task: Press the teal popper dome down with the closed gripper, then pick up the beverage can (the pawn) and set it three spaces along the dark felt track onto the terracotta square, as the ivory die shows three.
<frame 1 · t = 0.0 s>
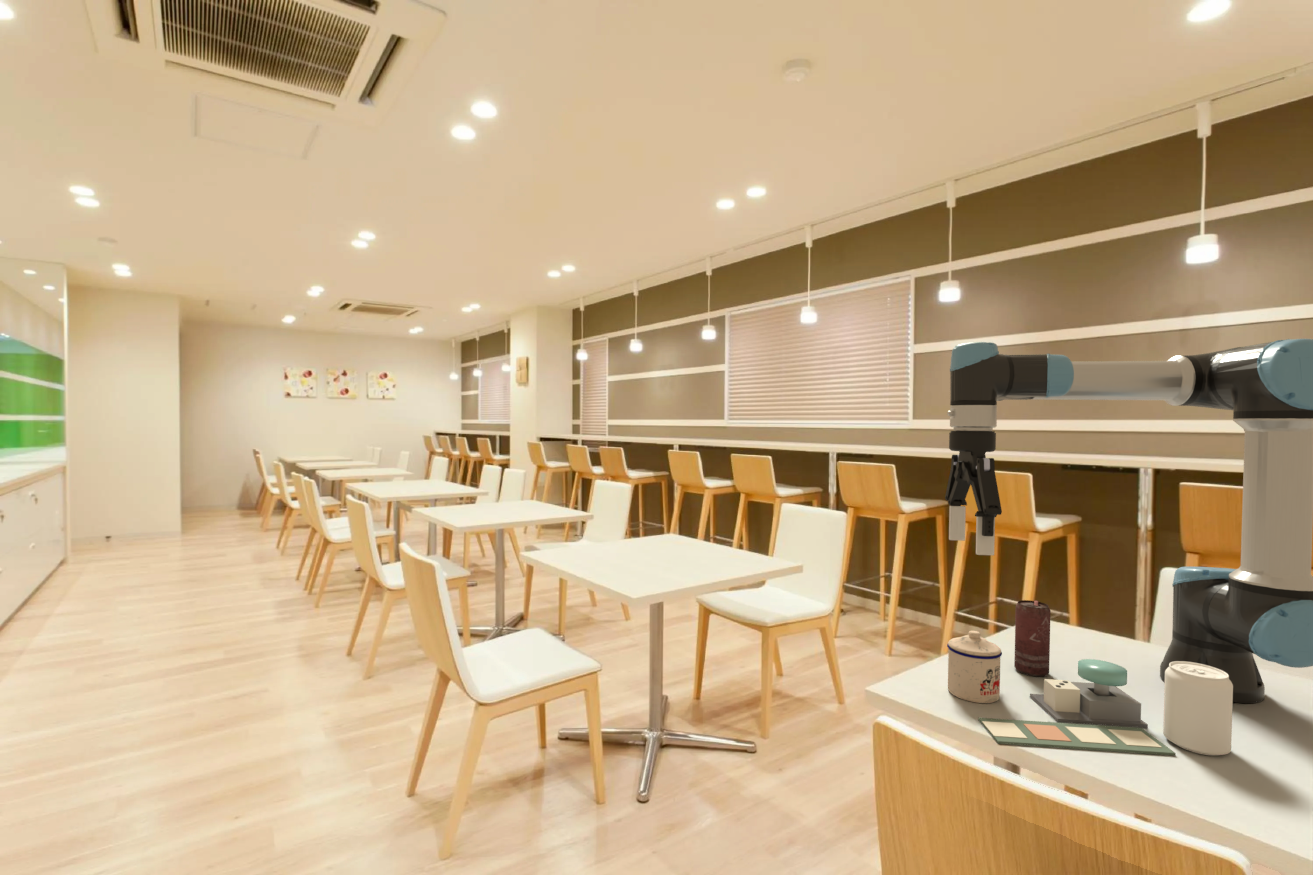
hand: (970, 547, 114), 28 cm above the table, fingers open, 13 cm apart
track: (1071, 736, 101), on the table
can: (1031, 672, 128), on the table
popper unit: (1085, 711, 110), on the table
teacup with lid: (976, 692, 118), on the table
beverage can: (1196, 746, 99), on the table
dome cap: (1101, 680, 110), point 6 cm above the table, slide at 0.0 cm
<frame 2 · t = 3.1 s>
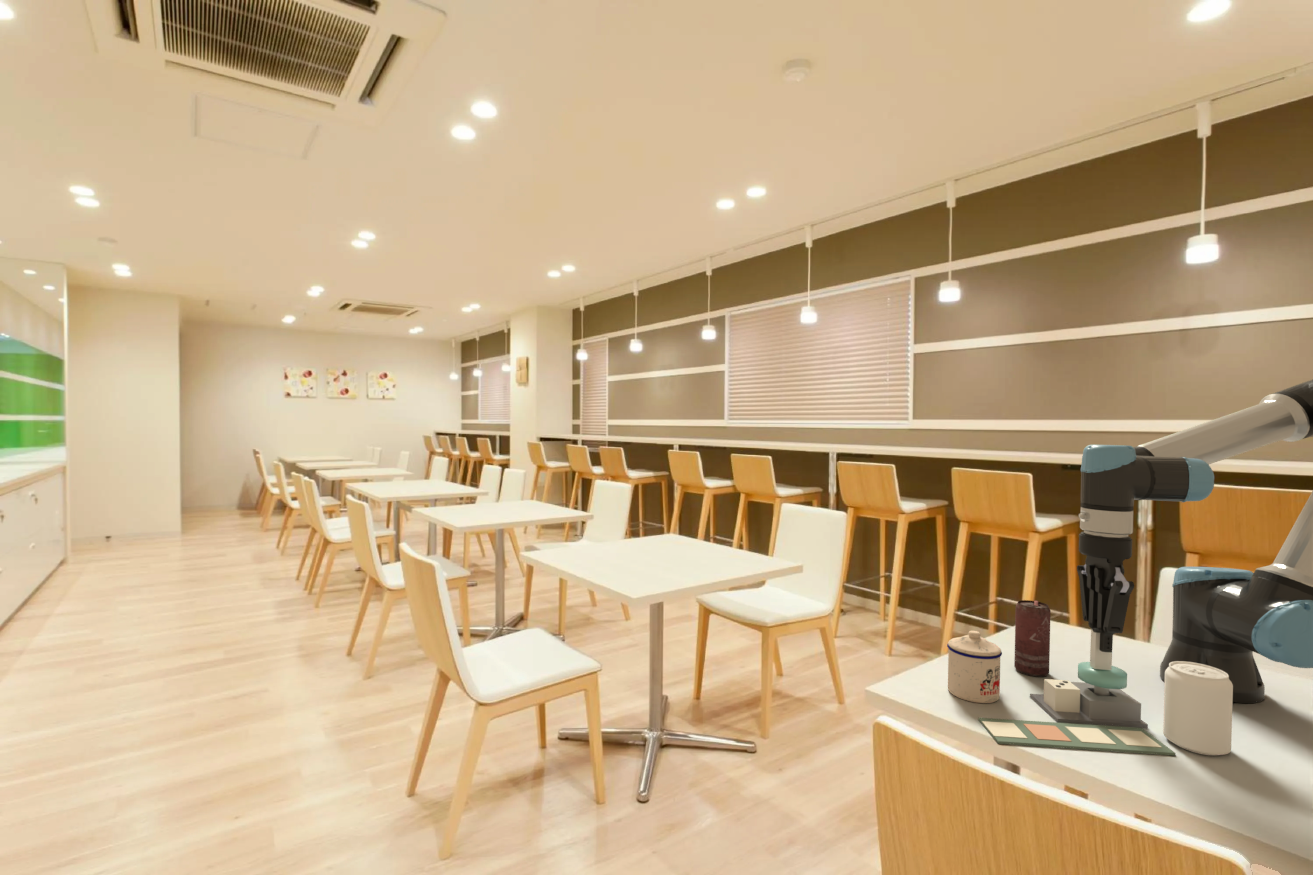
hand: (1100, 667, 110), 8 cm above the table, fingers closed
dome cap: (1101, 683, 110), point 5 cm above the table, slide at 0.5 cm, touching gripper
everything else where it was.
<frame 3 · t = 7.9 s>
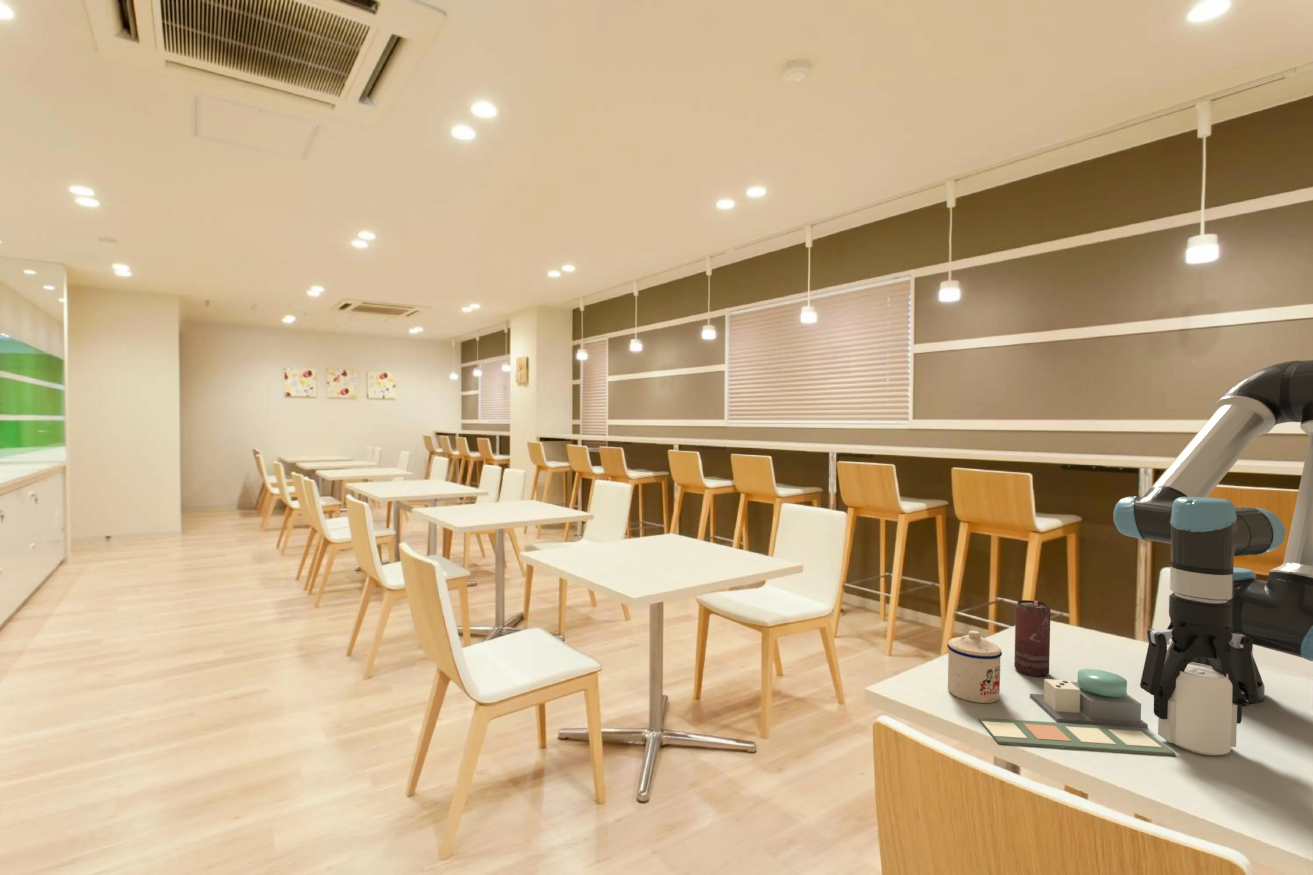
hand: (1196, 740, 99), 1 cm above the table, fingers closed on beverage can, 8 cm apart
beverage can: (1195, 746, 99), on the table, touching gripper
dome cap: (1101, 690, 110), point 4 cm above the table, slide at 1.8 cm
everything else where it was.
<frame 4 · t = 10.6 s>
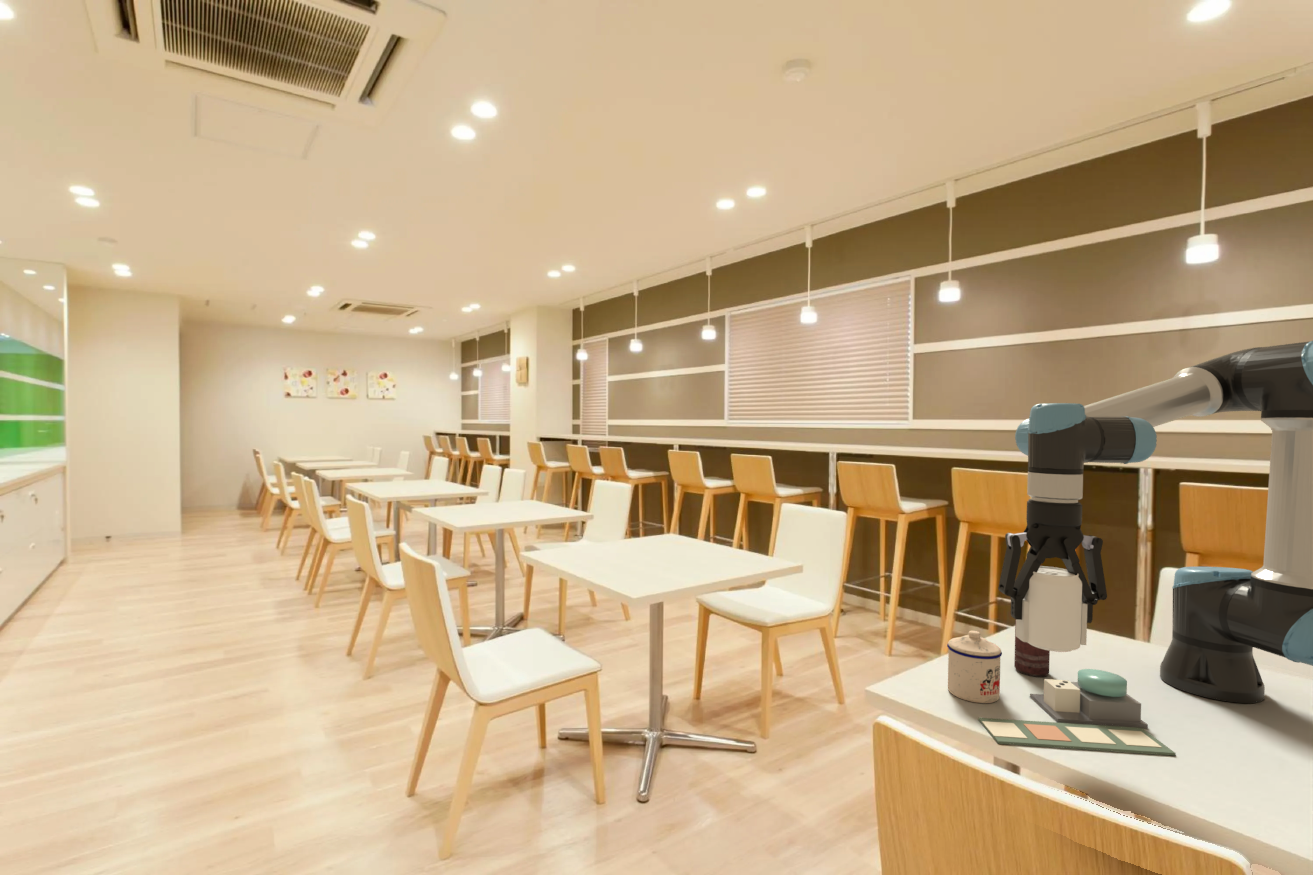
hand: (1050, 640, 101), 15 cm above the table, fingers closed on beverage can, 8 cm apart
beverage can: (1049, 646, 101), point 15 cm above the table, touching gripper
everything else where it was.
when the fingers open (3 cm above the table, at t = 13.4 s): beverage can drops 1 cm, resting on track.
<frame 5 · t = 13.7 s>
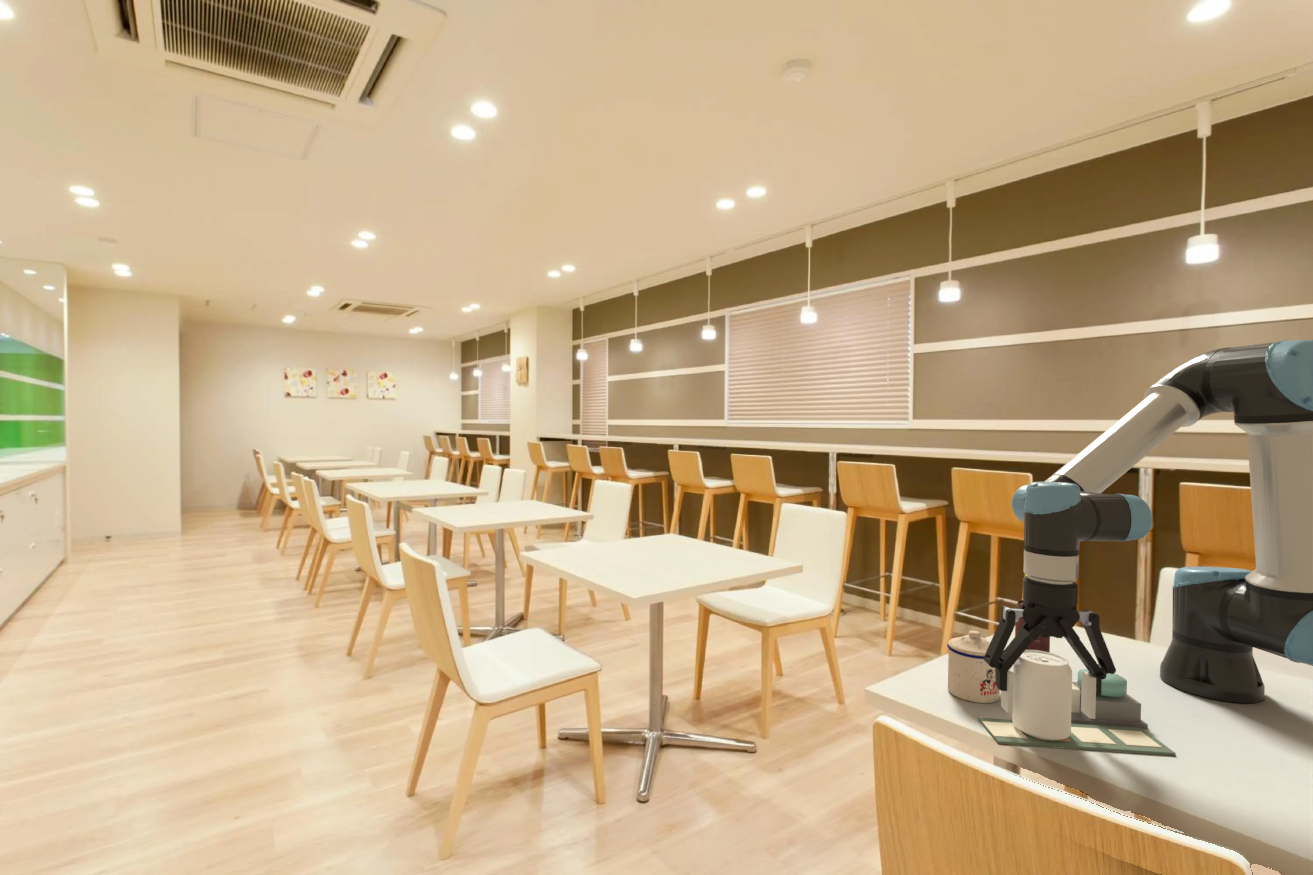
hand: (1047, 712, 101), 4 cm above the table, fingers open, 11 cm apart
beverage can: (1040, 732, 102), resting on track
everything else where it was.
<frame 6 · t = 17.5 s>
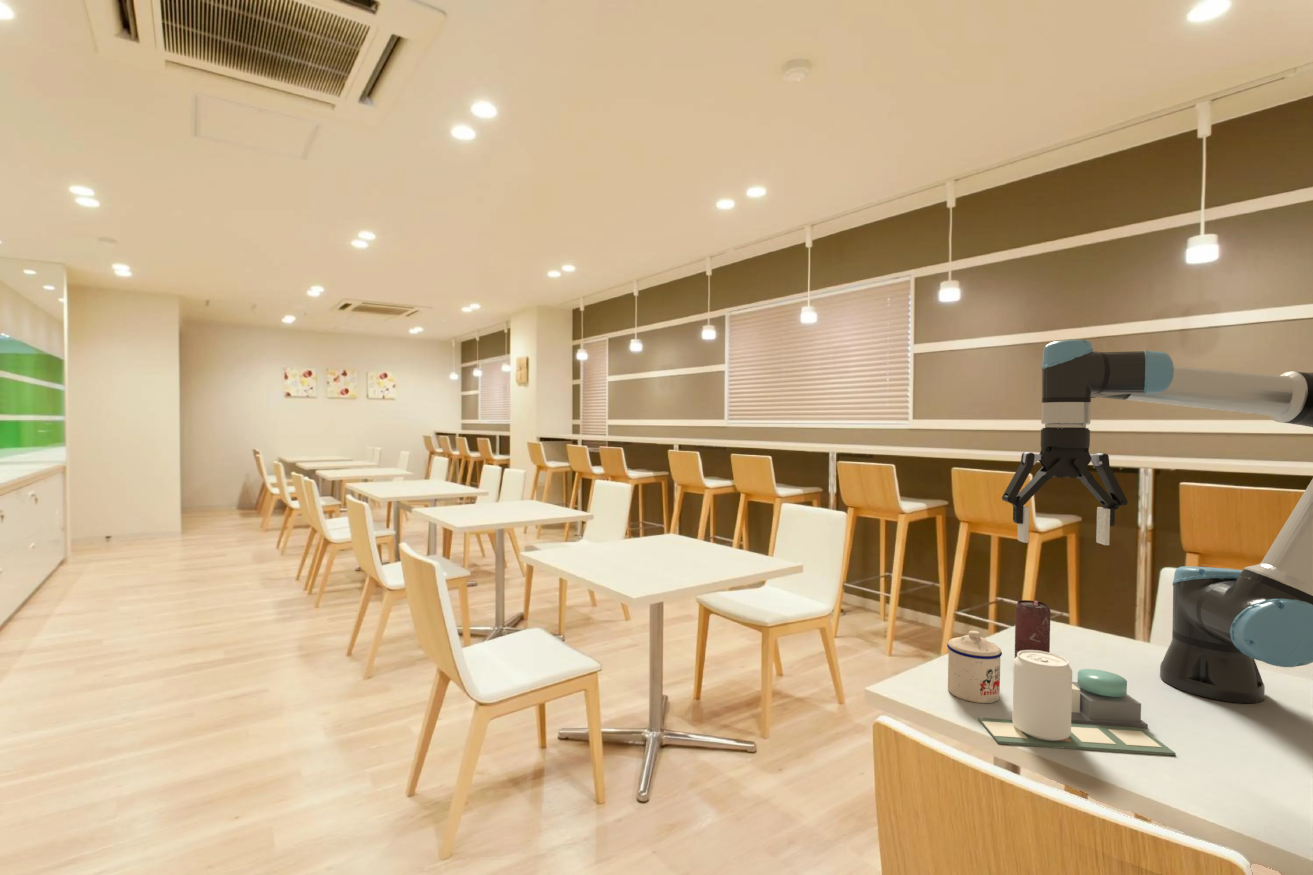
hand: (1062, 542, 115), 29 cm above the table, fingers open, 13 cm apart
nothing on the table moved.
at the end: dome cap slide at 1.8 cm; beverage can inside the target area (0.8 cm from its centre), resting on track; beverage can tilted 0° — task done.
